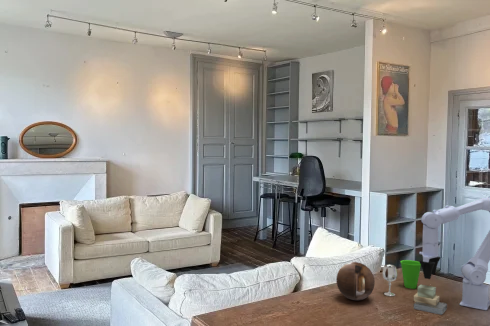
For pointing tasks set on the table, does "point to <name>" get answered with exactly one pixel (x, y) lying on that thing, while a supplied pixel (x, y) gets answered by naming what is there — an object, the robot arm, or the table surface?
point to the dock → (431, 307)
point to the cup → (410, 273)
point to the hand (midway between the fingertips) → (429, 276)
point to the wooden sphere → (355, 281)
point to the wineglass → (389, 276)
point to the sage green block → (426, 295)
